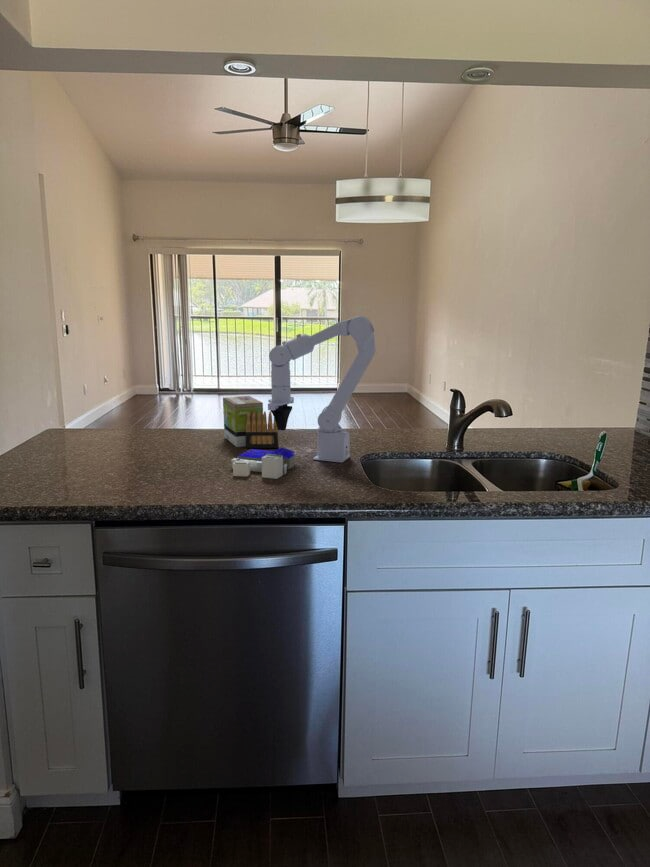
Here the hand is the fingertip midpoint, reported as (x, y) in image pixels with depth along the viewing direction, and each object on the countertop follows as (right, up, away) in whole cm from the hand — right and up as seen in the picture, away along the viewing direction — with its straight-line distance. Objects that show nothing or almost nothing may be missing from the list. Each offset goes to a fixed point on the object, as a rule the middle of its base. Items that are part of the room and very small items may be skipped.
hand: (281, 429), depth 178 cm
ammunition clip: (-7, -6, +12) cm, 15 cm away
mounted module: (-1, -13, -19) cm, 23 cm away
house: (-3, -11, -8) cm, 14 cm away
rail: (-5, -12, -14) cm, 19 cm away
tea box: (-15, -4, +22) cm, 26 cm away
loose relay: (-10, -13, -18) cm, 24 cm away
